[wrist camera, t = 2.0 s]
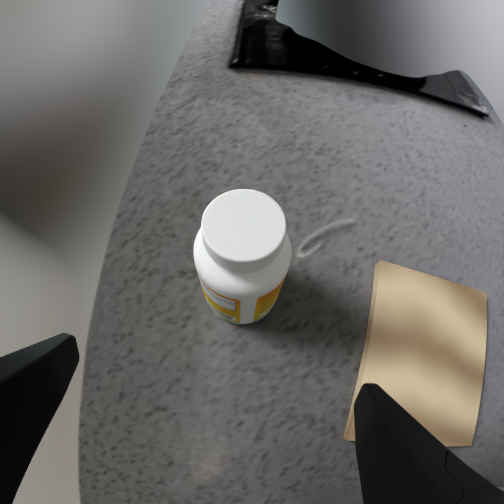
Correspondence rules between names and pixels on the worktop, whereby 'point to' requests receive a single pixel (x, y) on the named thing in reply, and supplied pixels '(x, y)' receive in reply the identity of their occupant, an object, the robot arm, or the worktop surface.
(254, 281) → the supplement bottle
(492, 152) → the worktop surface
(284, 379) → the worktop surface
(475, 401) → the oak board
